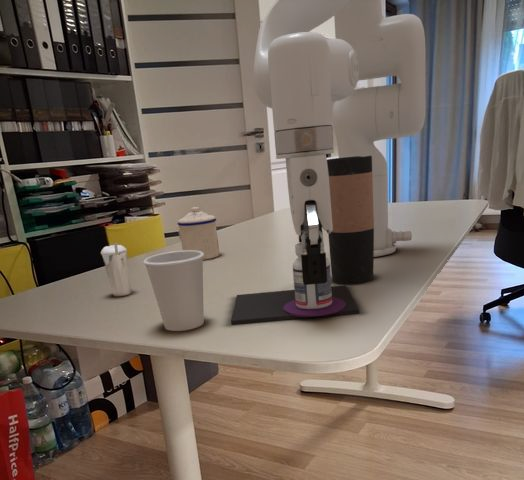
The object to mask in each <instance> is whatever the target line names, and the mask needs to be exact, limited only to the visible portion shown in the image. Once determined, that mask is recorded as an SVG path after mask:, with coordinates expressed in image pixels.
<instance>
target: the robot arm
mask: <svg viewBox="0 0 524 480" xmlns="http://www.w3.org/2000/svg"><path fill="white" fill-rule="evenodd" d="M382 5H383V3H382V0H275V2H274V3H273V4H272V5H271V6H270V8H268V9H269V10H268V11H267V12H266V13H265V16H264V17H263V19H262V21H261V24H260V27H259V30H258V34H257V40H256V47H255V53H254V59H253V62H254V63H253V86H254V90H255V94H256V96H257V99H258V100H259V102H260V103H261V104H262V105H264V106H265V107H267V108H269V109H271V111H272V122H273V123H272V124H273V133H274V134H273V136H274V147H275V159H276V160H281V159H282V160H283V159H285V167H286V168H285V169H286V181H287V190H288V201H289V207H290V214H291V220H292V225H293V228H294V231H295V234H296V235H297V236H298V243H302V248H303V255H301V261H302V275H303V283H304V284H305V285H310V284H321V283H326V282H327V268H326V258H327V253H326V251H325V242H324V233H323V232H324V231H325V232H326V234H328V233H331V232H332V231H333V224H332V213H331V199H330V185H329V174H328V165H327V160H328V159H327V155H329V154H330V155H331V154H335V151H334V135H335V140H336V144H337V145H336V146H337V151H338V158H344V157H354V156H361V157H365V156H372V179H373V213H374V258H378V257H382V256H387V255H391V254H393V253H395V252H396V250H397V245H396V244H397V242H407V241H412V238H413V236H412V231H411V230H407V231H406V230H405V231H396V230H394V231H393V230H392V229H390V228H389V201H388V200H389V195H388V194H389V191H388V190H389V188H388V187H389V185H388V180H389V179H388V175H389V174H388V173H389V172H388V162H387V160H386V158H385V156H384V154H383V153H382V152H381V150H379V148H377V146H375V143H374V142H377V141H381V140H392V139H402V138H408V137H409V138H410V137H414V136H416V135H418V134H419V133H420V132H421V131H422V129H423V128H424V125H425V121H426V105H427V103H426V101H427V99H426V96H427V95H426V94H427V93H426V88H427V87H426V86H427V85H426V83H427V82H426V81H427V79H426V74H427V72H426V69H427V68H426V67H427V65H426V64H427V63H426V51H427V49H426V35H425V29H424V25H423V22H422V20H421V19H420V17H419V16H417V15H415V14H413V13H403V14H396V15H391V16H386V17H384V16H383V8H382V7H383V6H382ZM332 18H334V34H335V38H326V37H325V35H323V34H322V33H319V32H315V31H312V30H314V29H316V28H318V27H320V26H322V25H323V24H324V23H326V22H328V21H329V20H330V19H332ZM387 77H397V78H398V79H399V81H400V83H391V84H386V85H376V86H369V87H361V88H356V87H357V84H358V82H359V81H367V80H375V79H381V78H387ZM332 103H333V105H332ZM333 128H334V129H333ZM334 133H335V134H334ZM306 244H307V245H306Z"/></svg>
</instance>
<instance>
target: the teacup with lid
mask: <svg viewBox="0 0 524 480" xmlns="http://www.w3.org/2000/svg"><path fill="white" fill-rule="evenodd" d="M200 209H201V208H200V207H199V206H193V207H191V208H190V212H188V213H187V214H185V215H184V217H181V218H179V219H178V220H177V225H178V228H179V229H178V236H179V240H180V242H181V249H182V251H184V250H196V251H201V252H203V253H204V256H203V261H205V260H210V259H214V258H217V257H219V256H220V247H219V238H218V232H217V231H218V230H217V222H216V221H217V218H216V216H215V215H212V214H209V213H207V212H204V211H201V210H200Z"/></svg>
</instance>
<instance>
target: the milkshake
mask: <svg viewBox="0 0 524 480" xmlns="http://www.w3.org/2000/svg"><path fill="white" fill-rule="evenodd" d="M100 255H101V259H102V261H103V264H104V268H105V270H106V274H107V278H108V282H109V284H110V288H111V291H112V296H114V297H125V296H128V295H130V294H132V288H131V287H132V286H131V278H130V271H129V269H130V268H129V261H128V250H127V248H126V247H125V246H124V245H121V244H118V242H117V241H114V242H113V244H110V245H106V246H104V247H103V248H102V249H101V251H100Z"/></svg>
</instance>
